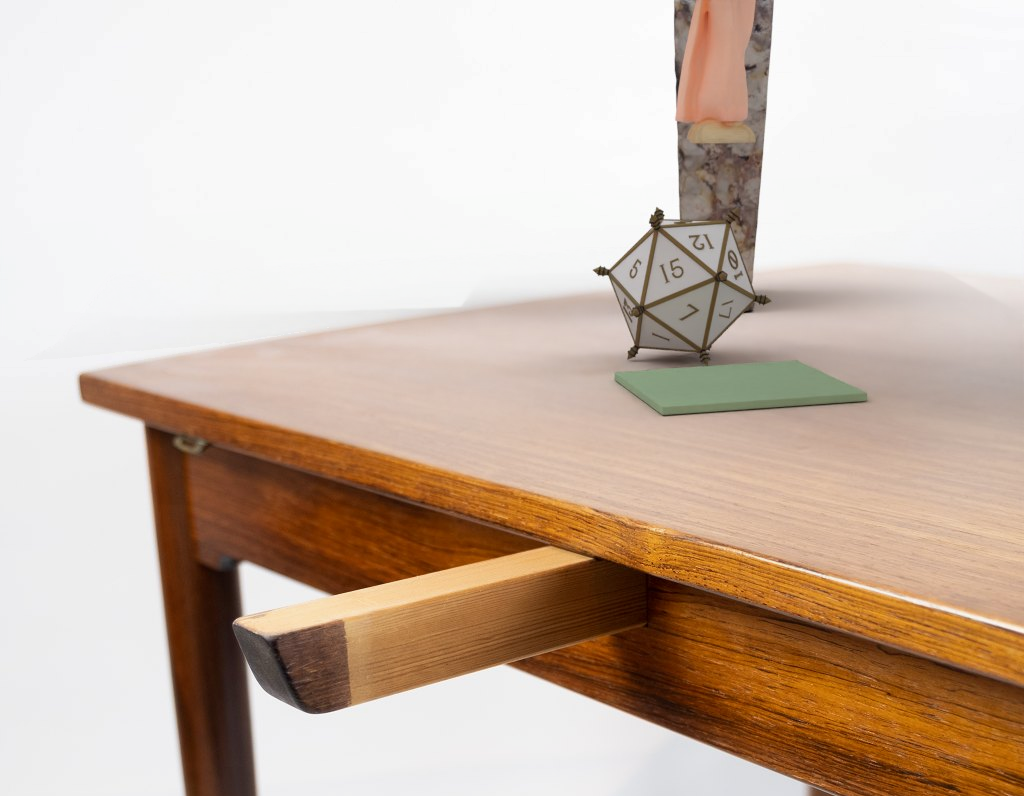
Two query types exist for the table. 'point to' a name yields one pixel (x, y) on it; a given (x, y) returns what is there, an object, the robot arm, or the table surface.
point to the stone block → (727, 166)
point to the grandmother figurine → (716, 72)
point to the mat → (736, 387)
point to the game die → (682, 284)
